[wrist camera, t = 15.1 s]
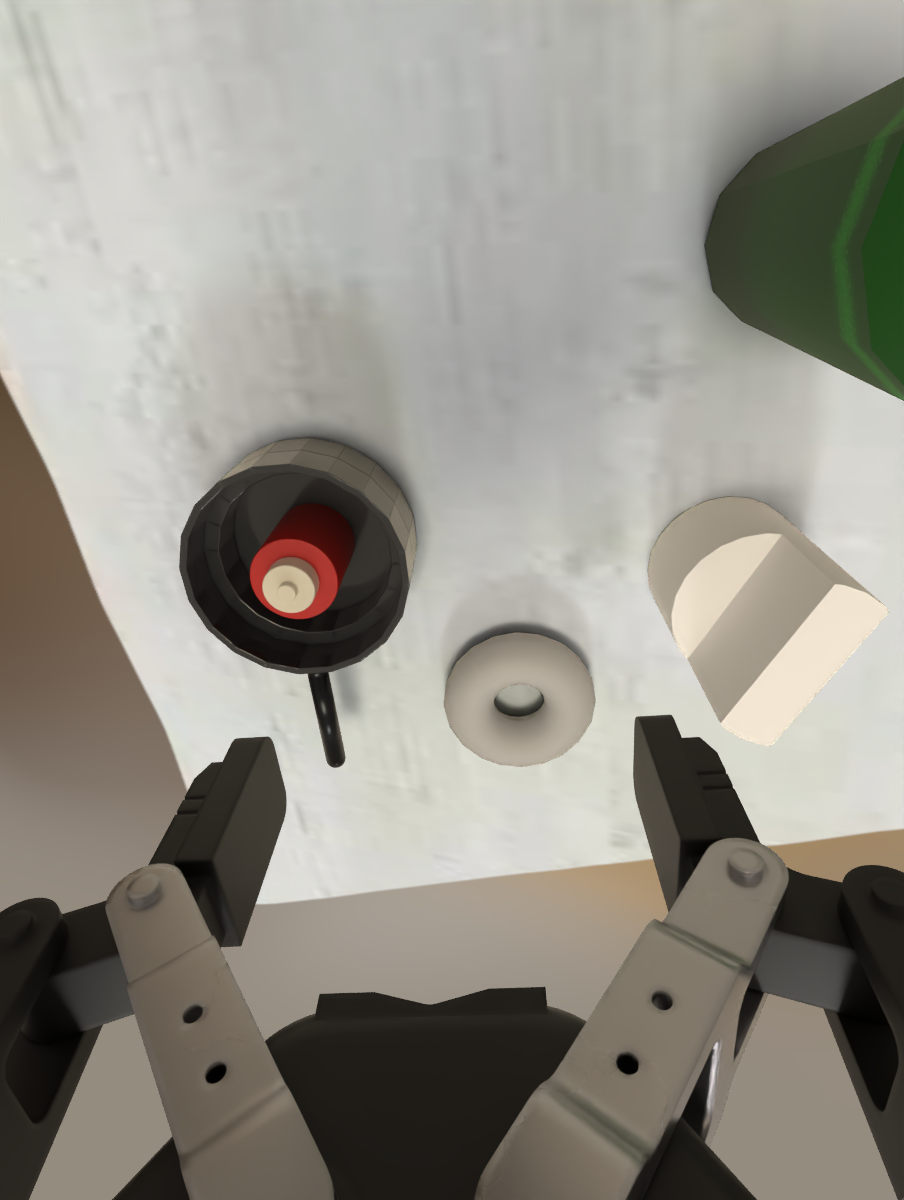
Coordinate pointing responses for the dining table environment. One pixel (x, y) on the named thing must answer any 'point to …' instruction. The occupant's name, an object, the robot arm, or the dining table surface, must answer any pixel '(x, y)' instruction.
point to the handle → (327, 718)
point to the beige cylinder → (756, 611)
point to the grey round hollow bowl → (249, 515)
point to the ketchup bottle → (303, 561)
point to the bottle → (823, 240)
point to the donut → (525, 665)
